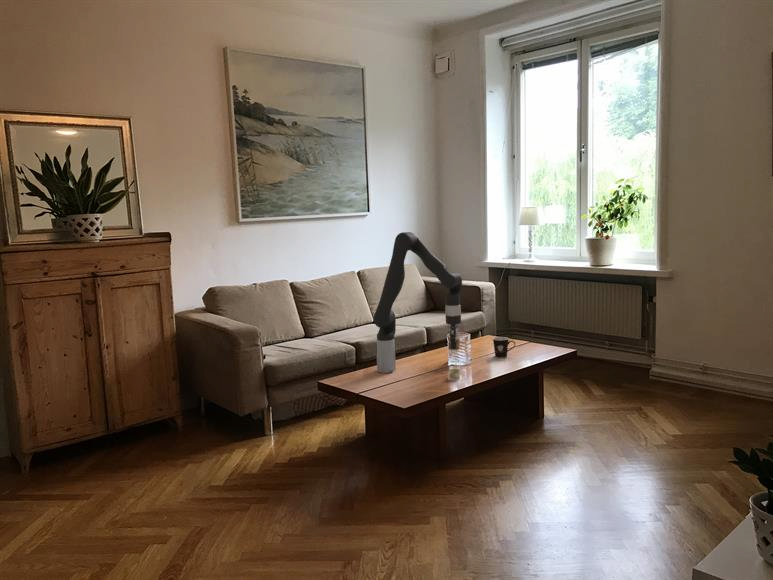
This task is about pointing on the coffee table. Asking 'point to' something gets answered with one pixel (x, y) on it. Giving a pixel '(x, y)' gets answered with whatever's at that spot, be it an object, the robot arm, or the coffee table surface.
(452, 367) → the birch base cube
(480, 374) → the coffee table surface
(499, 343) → the coffee mug
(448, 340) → the walnut cube
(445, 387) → the coffee table surface
